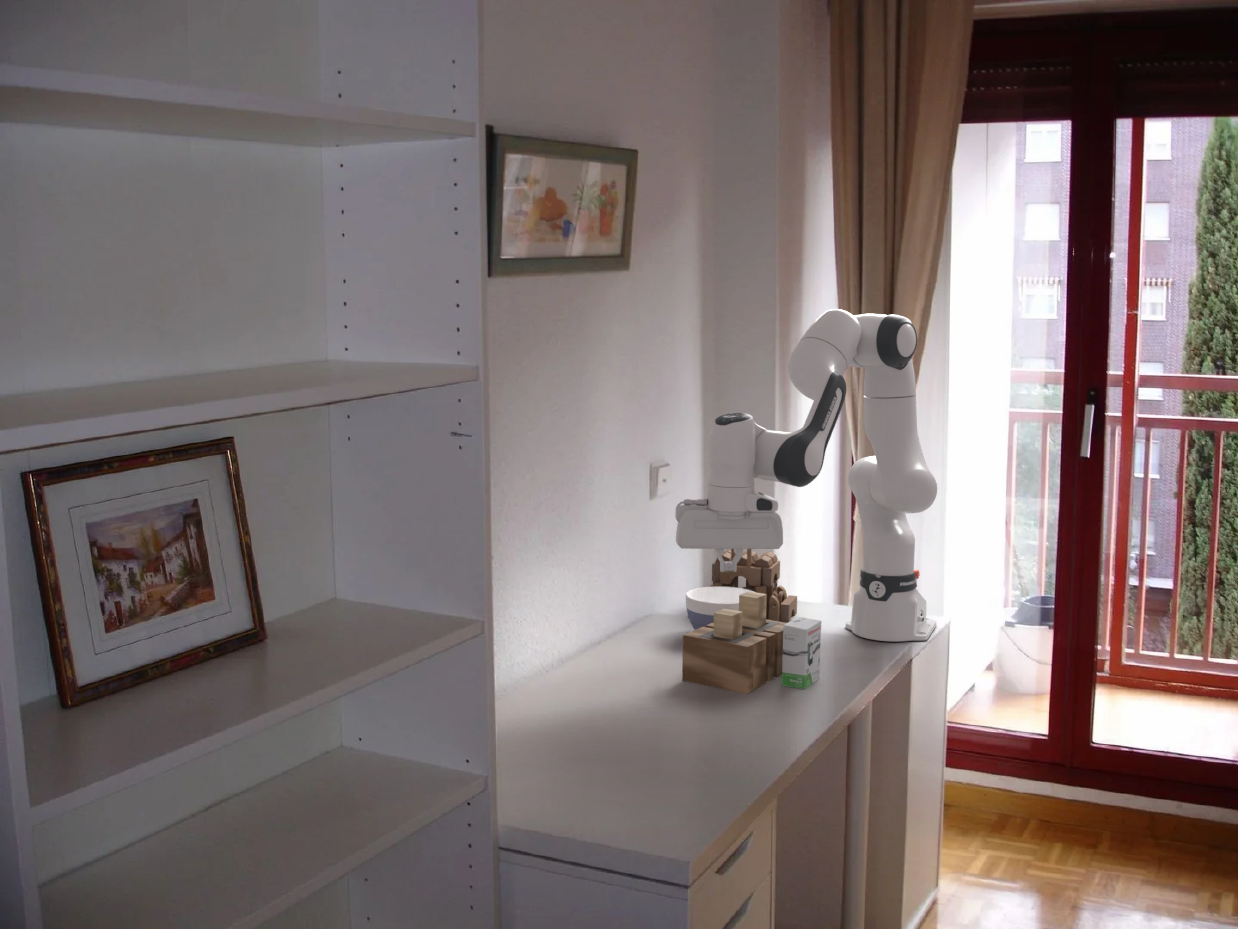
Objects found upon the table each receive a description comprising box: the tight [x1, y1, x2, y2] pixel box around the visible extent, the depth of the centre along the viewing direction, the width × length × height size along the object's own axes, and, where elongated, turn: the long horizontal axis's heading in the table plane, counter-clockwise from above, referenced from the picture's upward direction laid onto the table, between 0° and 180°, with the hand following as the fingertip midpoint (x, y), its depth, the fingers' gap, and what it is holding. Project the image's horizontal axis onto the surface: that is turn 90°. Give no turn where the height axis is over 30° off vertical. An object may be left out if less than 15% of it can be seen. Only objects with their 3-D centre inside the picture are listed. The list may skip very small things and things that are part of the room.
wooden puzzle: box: [709, 549, 798, 623], centre depth 286 cm, size 22×15×19 cm, turn 71°
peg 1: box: [713, 609, 742, 640], centre depth 234 cm, size 4×4×9 cm
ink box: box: [781, 616, 822, 690], centre depth 234 cm, size 9×5×12 cm, turn 151°
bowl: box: [685, 586, 753, 630], centre depth 266 cm, size 16×16×10 cm
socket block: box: [681, 620, 786, 695], centre depth 239 cm, size 20×14×9 cm
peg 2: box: [739, 592, 767, 629], centre depth 242 cm, size 4×4×9 cm
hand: (728, 571), depth 233 cm, fingers closed
